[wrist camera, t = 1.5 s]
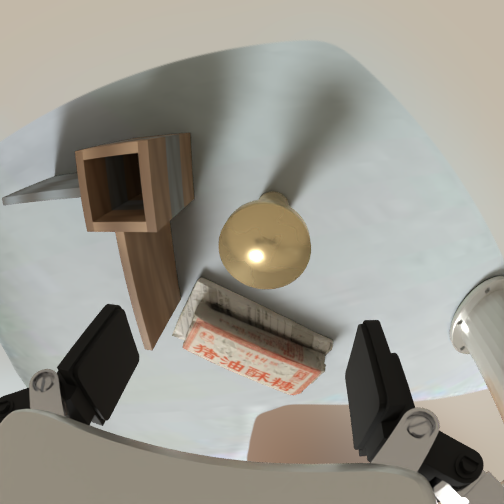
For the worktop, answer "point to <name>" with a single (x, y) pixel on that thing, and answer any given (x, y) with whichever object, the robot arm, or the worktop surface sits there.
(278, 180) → the worktop surface
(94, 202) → the hinge
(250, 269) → the hinge pin
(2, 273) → the worktop surface
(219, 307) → the packaged product
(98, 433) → the robot arm
